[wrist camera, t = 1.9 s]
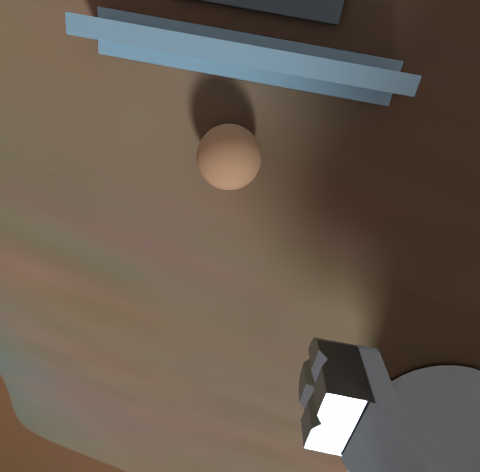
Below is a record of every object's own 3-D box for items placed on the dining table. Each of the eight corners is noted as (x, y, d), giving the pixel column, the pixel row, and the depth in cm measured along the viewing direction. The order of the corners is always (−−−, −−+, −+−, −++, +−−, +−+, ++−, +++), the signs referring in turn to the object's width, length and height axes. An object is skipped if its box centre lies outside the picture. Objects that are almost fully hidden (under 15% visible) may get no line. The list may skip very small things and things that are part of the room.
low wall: (385, 105, 26) (408, 112, 21) (103, 54, 26) (67, 50, 21) (399, 61, 24) (428, 59, 20) (102, 8, 25) (63, -7, 20)
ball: (256, 184, 29) (253, 204, 25) (200, 174, 29) (187, 192, 25) (267, 125, 27) (266, 136, 23) (207, 114, 27) (193, 122, 23)
